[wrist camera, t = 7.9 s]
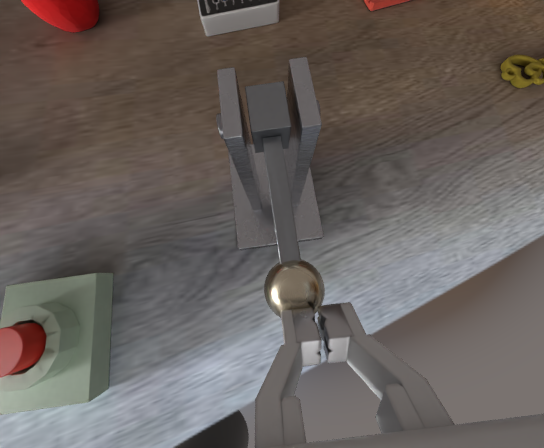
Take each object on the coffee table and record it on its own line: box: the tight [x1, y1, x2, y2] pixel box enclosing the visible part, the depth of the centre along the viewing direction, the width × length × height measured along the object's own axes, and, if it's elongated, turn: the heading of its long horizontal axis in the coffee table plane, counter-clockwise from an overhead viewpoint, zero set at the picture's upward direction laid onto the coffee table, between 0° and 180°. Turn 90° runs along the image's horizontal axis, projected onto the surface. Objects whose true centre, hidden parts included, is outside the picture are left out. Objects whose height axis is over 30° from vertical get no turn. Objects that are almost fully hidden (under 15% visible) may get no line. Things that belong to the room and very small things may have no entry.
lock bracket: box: [216, 57, 324, 250], centre depth 18 cm, size 12×9×14 cm
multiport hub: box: [197, 0, 279, 36], centre depth 30 cm, size 4×11×2 cm, turn 102°
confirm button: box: [0, 323, 47, 378], centre depth 17 cm, size 4×4×2 cm
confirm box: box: [0, 273, 113, 415], centre depth 20 cm, size 11×9×4 cm
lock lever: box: [245, 82, 325, 318], centre depth 12 cm, size 13×3×3 cm, turn 8°
